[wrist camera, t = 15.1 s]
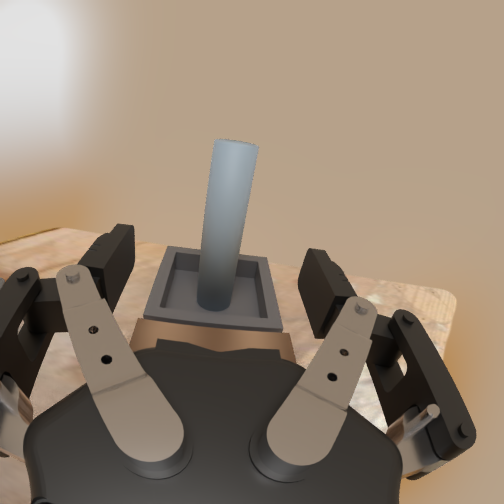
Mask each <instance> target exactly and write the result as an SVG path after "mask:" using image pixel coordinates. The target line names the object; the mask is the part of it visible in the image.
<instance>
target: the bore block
mask: <svg viewBox="0 0 504 504" xmlns="http://www.w3.org/2000/svg"><path fill="white" fill-rule="evenodd" d="M157 338H159V339H166V340H173V341H181V342H188V343H191V344H194V345H197V346H201V347H204V348H207V349H210V350H214V351H218V352H224V351H232V350H239V349H247V348H260V349H279V350H280V355H281V358H282V359H286V360H289V361H291V362H294V363H296V359H295V355H294V351H293V347H292V342H291V338H290V334H289V333H277V332H259V331H245V330H232V329H221V328H211V327H201V326H192V325H184V324H176V323H168V322H161V321H154V320H147V319H141V318H138V320H137V323H136V326H135V329H134V332H133V335H132V338H131V342H130V345H129V346H130V348H131V350H132V351H133V352H134V351H137V350H141V349H145V348H151V347H156V342H157ZM296 364H297V363H296Z"/></svg>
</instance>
